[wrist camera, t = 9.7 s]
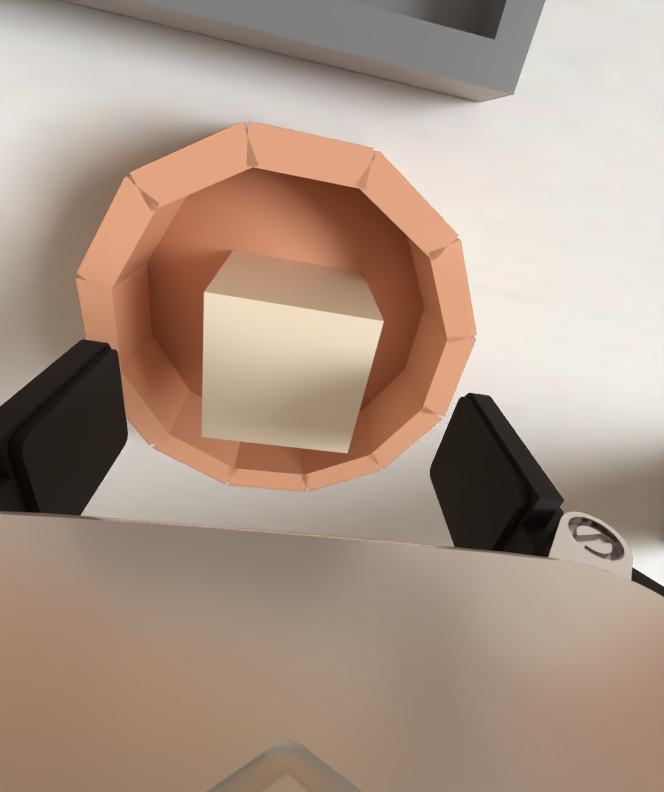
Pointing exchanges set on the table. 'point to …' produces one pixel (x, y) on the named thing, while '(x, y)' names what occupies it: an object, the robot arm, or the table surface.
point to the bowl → (288, 239)
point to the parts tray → (370, 35)
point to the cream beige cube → (286, 352)
